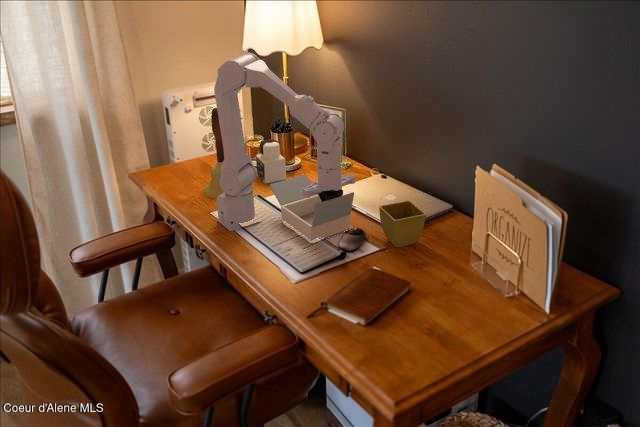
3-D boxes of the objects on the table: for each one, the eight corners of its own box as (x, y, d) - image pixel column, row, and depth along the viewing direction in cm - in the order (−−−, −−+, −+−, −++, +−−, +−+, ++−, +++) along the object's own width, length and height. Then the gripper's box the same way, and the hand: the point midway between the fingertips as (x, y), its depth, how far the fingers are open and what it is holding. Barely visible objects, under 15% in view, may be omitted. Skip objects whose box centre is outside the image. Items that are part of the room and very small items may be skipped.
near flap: (311, 226, 145) (312, 227, 145) (314, 204, 141) (315, 205, 141) (349, 213, 151) (350, 214, 151) (353, 192, 147) (354, 192, 147)
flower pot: (377, 237, 151) (378, 205, 147) (407, 230, 153) (409, 199, 149) (392, 253, 143) (394, 220, 139) (424, 246, 146) (427, 214, 142)
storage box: (311, 244, 148) (310, 226, 146) (281, 222, 158) (281, 206, 156) (349, 230, 154) (349, 213, 152) (318, 210, 164) (318, 194, 162)
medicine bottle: (256, 175, 186) (254, 139, 181) (278, 171, 189) (276, 136, 184) (264, 184, 181) (262, 147, 175) (286, 179, 183) (284, 143, 178)
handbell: (195, 188, 179) (186, 107, 167) (231, 177, 185) (224, 99, 174) (215, 202, 170) (206, 118, 158) (252, 191, 176) (246, 109, 165)
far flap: (269, 184, 158) (269, 185, 159) (281, 205, 156) (280, 206, 156) (305, 174, 164) (305, 174, 164) (317, 194, 162) (316, 194, 162)
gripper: (313, 178, 136) (314, 230, 142) (363, 163, 143) (362, 213, 149) (297, 168, 141) (298, 219, 147) (345, 154, 148) (345, 203, 154)
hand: (329, 215), depth 149 cm, fingers closed, pressing on near flap
